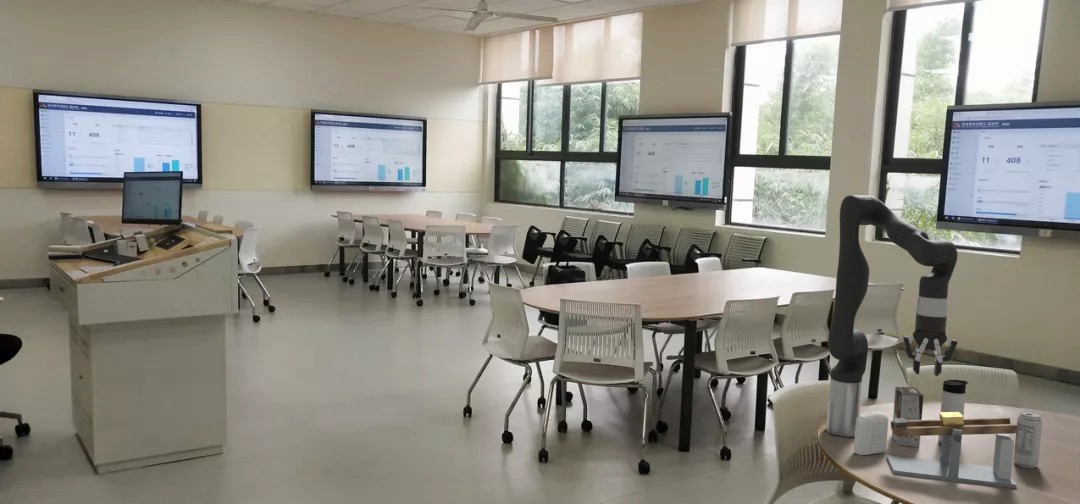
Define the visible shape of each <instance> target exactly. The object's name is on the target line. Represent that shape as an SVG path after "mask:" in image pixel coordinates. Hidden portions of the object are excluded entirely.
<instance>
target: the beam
mask: <svg viewBox="0 0 1080 504" xmlns="http://www.w3.org/2000/svg"><path fill="white" fill-rule="evenodd" d="M963 420H964V426H941V425H940V418H939V419H922V420H905V418H892V420H890V429H891V431H893V433H894V435H895V436H920V437H922V436H924V437H925V436H927V437H928V436H939V435H951V436H952V428H955V429H961V430H962V436H963V435H964V436H967V435H968V436H969V435H996V434H1007V435H1010V434H1016V433H1018V431H1017V423H1011V418H1010V417H1007V416H1006V417H976V418H975V417H974V418H963Z"/></svg>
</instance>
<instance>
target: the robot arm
mask: <svg viewBox="0 0 1080 504" xmlns="http://www.w3.org/2000/svg"><path fill="white" fill-rule="evenodd" d="M860 226H874V227H877V228H880V229H881V230H883V231H885V233H886V235H887V237H888V239H889V240H890V241H891V242H892V243H894V245H896V246H898V247H899V248H902V249H903V250H904V251H906V252H907V253H908V254H909V256H910V257H911V258H912V259H913V260H914V261H915V262H916V263H918V264H920V265H922V266H924V267H932V268H931V271H930V272H929V273H927V274H924V275H922V276H921V277H920V279H919V286H918V296H917V297H918V298H917V303H916V308H915V326H914V331H913V333H912V334H911V335H902V336H901V337H902V342H903V346H904V349H905V354H906V356H907V357H908V358H909V359H912V360H913V362H912V370H913V372H914V373H915V374H916V375H920V370H921V369H920V368H921V360H920V359H921V357H922V354H924V352H925V351H926V350H927V351H929V350H930V351H933V352H934V353H933V354H934V356H935V361H934V368H933V369H934V370H933V375H934V376H937V377H938V376H939V375H941V373H942V365H943V363H944V362H949V361H951V359H952V358H953V354H954V352H955V350H956V347H957V345H958V341H957V340H956V339H953V338H948V336H947V334H946V333H947V332H946V329H947V320H948V319H947V318H948V295H949V294H948V293H949V282H950V280H951V278H952V276H953V273H954V270H955V267H956V265H957V261H958V249H957V246H956V245H955V244H954V243H953V242H952V241H950V240H943V239H942V240H930V239H929V235H928V234H927V233H926V232H925V231H924V230H922V229H921V228H919V227H918V226H915V225H914V224H912V223H910V222H908V221H907V220H905V219H903V218H902V217H900V215H898V214H896V213H895V212H894V211H893V210H892V209H891V208H889V207H888V206H887V205H886V204H885V203H884V202H883V201H881V200H880V199H878V198H877V197H876V196H873V195H869V194H867V195H866V194H863V195H862V194H849V195H846V196H845V197H844V198H843V200H841V203H840V208H839V250H838V263H837V270H836V280H835V292H834V293H835V295H834V303H833V312H832V318H831V323H830V328H829V333H828V338H827V347H828V351H829V353H830V355H831V356H832V357H833V358H834V359H836V360H837V363H836V364H835V365H834V367H832V369H831V371H830V380H829V381H830V383H829V393H828V394H829V398H828V400H827V414H826V415H827V416H826V431H827V434H830V435H835V436H838V437H845V438H853V437H854V438H855V429H856V419H857V417H858V416H859V415H861V414H860V413H861V401H862V400H861V399H862V398H861V397H862V383H863V376H864V374H865V373H866V372H865V371H866V368H867V359H868V353H869V352H868V351H869V343H868V339H867V336H866V334H865V333H864V332H863V331H862V330H860V329H858V328H854V327H855V321H856V320H855V319H856V315H857V313H858V311H859V309H860V307H861V305H862V303H863V301H864V299H865V297H866V294H867V292H868V287H869V279H870V266H869V264H868V263H869V262H868V260H867V258H866V256H865V254H864V252H863V250H862V248H861V245H860V239H859V238H860V237H859V236H860ZM913 340H914V341H915V343H916V344H917V346H916V347H915V352H914V353H913V352H912V347H911V344H912V342H913ZM945 343H946V346H947V348H946V349H945V352H944V354H943V355H942V350H941V347H942V346H943V345H944V344H945Z"/></svg>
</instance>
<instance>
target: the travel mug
mask: <svg viewBox="0 0 1080 504" xmlns="http://www.w3.org/2000/svg"><path fill="white" fill-rule="evenodd" d="M942 383H943V384H942V389H941V402H940V412H960V413H961V415H962V416H963V418H964V415H965V403H966V394H967V393H966V389H967V385H968V381H967V380H965V379H964V380H961V379H947V380H944V381H943V382H942ZM951 440H952V438H951ZM938 444H940V445H941V444H942V435H938Z"/></svg>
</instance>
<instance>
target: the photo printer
mask: <svg viewBox="0 0 1080 504" xmlns="http://www.w3.org/2000/svg"><path fill="white" fill-rule="evenodd" d="M888 427H889V417H888V415H887V414H886V413H885V412H881V411H880V410H879V411H878V410H870V411H865V412H863V413H861V414H860V415H859V416H858V417H857V419H856V429H855V436H854V441H853V442H854V443H853V451H854V453H856V455H859V456H868V455H874V454H880V453H885V452H886V451H887V443H888V441H887V440H888V429H889V428H888Z"/></svg>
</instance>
